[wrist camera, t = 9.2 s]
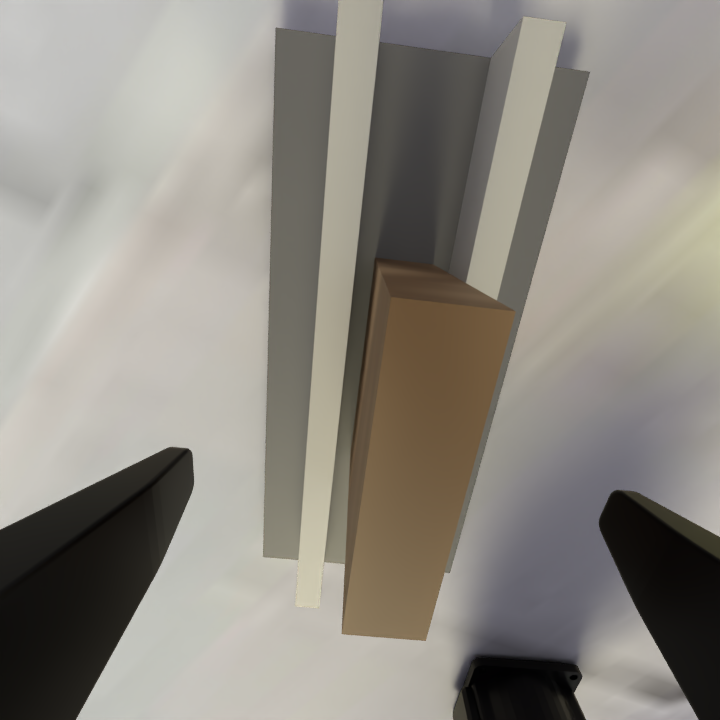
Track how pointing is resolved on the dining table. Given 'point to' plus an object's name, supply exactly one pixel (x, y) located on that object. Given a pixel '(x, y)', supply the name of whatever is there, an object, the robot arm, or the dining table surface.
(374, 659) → the dining table surface
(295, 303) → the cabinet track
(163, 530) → the robot arm
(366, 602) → the door panel
